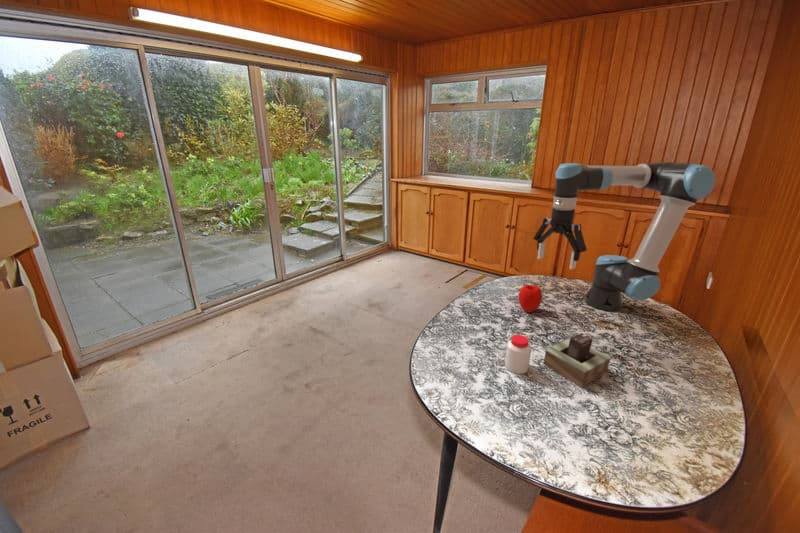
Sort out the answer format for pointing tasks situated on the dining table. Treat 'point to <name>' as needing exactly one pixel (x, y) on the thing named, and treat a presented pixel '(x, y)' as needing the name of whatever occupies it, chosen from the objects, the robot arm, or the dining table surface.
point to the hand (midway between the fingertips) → (555, 263)
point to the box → (579, 347)
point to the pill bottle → (518, 354)
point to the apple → (530, 297)
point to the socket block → (576, 364)
